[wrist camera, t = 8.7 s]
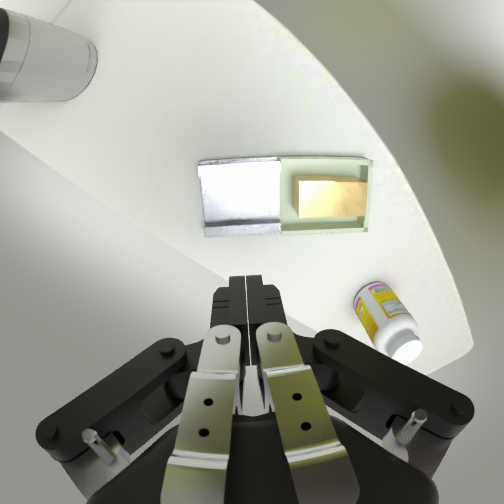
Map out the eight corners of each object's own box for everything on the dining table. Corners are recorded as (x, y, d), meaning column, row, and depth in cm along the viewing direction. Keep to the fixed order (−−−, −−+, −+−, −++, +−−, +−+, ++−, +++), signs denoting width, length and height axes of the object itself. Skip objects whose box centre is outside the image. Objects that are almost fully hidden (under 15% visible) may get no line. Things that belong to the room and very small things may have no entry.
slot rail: (207, 231, 36) (205, 239, 34) (200, 160, 32) (197, 163, 30) (278, 227, 36) (281, 235, 34) (277, 156, 32) (280, 158, 30)
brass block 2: (323, 206, 35) (333, 217, 31) (324, 175, 33) (335, 182, 29) (353, 206, 35) (365, 216, 31) (354, 175, 33) (368, 182, 29)
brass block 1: (292, 206, 35) (298, 217, 31) (292, 174, 33) (299, 181, 29) (323, 205, 35) (333, 216, 31) (324, 174, 33) (335, 180, 29)
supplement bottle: (365, 321, 44) (395, 378, 32) (344, 300, 42) (375, 360, 30) (396, 296, 42) (434, 348, 31) (378, 272, 40) (419, 325, 28)
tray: (278, 227, 36) (281, 236, 34) (277, 156, 32) (280, 159, 30) (359, 224, 36) (367, 232, 34) (363, 157, 33) (373, 160, 30)
